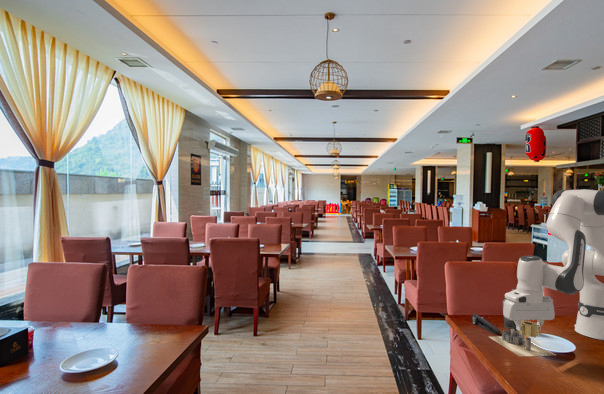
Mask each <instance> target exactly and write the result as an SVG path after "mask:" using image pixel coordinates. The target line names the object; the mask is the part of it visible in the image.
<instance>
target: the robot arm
mask: <svg viewBox="0 0 604 394" xmlns="http://www.w3.org/2000/svg"><path fill="white" fill-rule="evenodd" d="M551 197H552V198H551V205H552V207H551V209H550V212H549V214H548V217H547V220H546V225H545V226H546V229H547V231H548V233H549V234H550V235H551V236H553V237H554V238H556V239H558V240H559V241H561V242H564V243H566V244H567V246H568V249H566V250H565V251H564V252H563V253H562V255H561V263H562V264H563V266H560V265H559V266H558V265H555V264H554V265H553V264H549V263H547V262H544V261H543V259H542V257H540V256H538V255H522V256H521V257H519V260H518V261H517V262H518V263H517V270H516V278H517V284H516V288H515V289H513V291H512V290H511V291H509V292H506V293H505V294H504V299H505V298H506V300H505V302H504V307H503V306H502V314H503V318H504V317H505V318H507V319H509V320H514V322H515V324H516V329H515V330H517V332H519V331H523V327H522V326H521V325H520V323H521V320H524V321H537V322H536V323H537V325H539V331H542V327H543V325H544V323H545V321H551V320H552V321H553V320H554V319H555V305H554V299H553V298H552V297H551V296H549V295H544V288H546V289H551V290H554V291H557V292H560V293H563V294H566V295H570V296H571V295H574V294H577V293H579V300H578V303H577V307H578V311H577V316H576V323H575V324H574V331H575V332H576V333H578V334H580V335H582V336H584V337H589V338H592V339H596V340H599V341H604V283H603V282H601V281H600V280H599V279H597V277H596V276H604V190H601V189H600V190H595V189H585V188H583V189H561V190H557V191H556V192H555V193H554V194H553V195H552V196H551ZM587 246H589V247H591V248H592V249H593V250H589V249H586V247H587Z"/></svg>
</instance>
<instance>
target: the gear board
mask: <svg viewBox="0 0 604 394" xmlns="http://www.w3.org/2000/svg"><path fill="white" fill-rule="evenodd" d="M510 330H511V335H515V332H516V329H515V330H514V329H510ZM488 338H490V339H491V340H492V341H494V342H496V343H498V344H499V345H500V346H502V347H504V349H505V348H506V349H507V350H509V351H510V352H512V353H513V354H515V355H516V356H518V357H545V356H546V357H547V356H548V357H549V356H557V354H555V353H554V352H552V351H550V350H549V349H547V350H544V349H542V348H539V347H538V346H536V345H534V344H533V343H531V341H532V337H527V336H526V337H525V338H524V345H515V344H511V343H507V342H506V341H504V340H502V335H500V336H499V335H498V336H497V335H494V336H488Z"/></svg>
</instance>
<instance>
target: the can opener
mask: <svg viewBox="0 0 604 394" xmlns="http://www.w3.org/2000/svg"><path fill="white" fill-rule="evenodd" d="M471 321H472V322H471V324H472V325H473V324H474V325H476V326H478V327H480V328H482V329H483V330H485V331H487V332H489V333H490V334H493V335H494V336H497V335H498V334H502V332H501V330H499V328H497V327H496V326H495V325H494V324H492V322H490V321H488V320H487V319H485V317H481V316H480V315H479V314H476V313H474V314H472V316H471Z"/></svg>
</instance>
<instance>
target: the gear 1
mask: <svg viewBox="0 0 604 394" xmlns="http://www.w3.org/2000/svg"><path fill="white" fill-rule="evenodd" d="M501 336H502V340H504V341H506V342H507V343H511V344H515V345H524V338H526V337H525V335H521V334H520V332H519V331H515V335H511V329H508V330H502V332H501Z"/></svg>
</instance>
